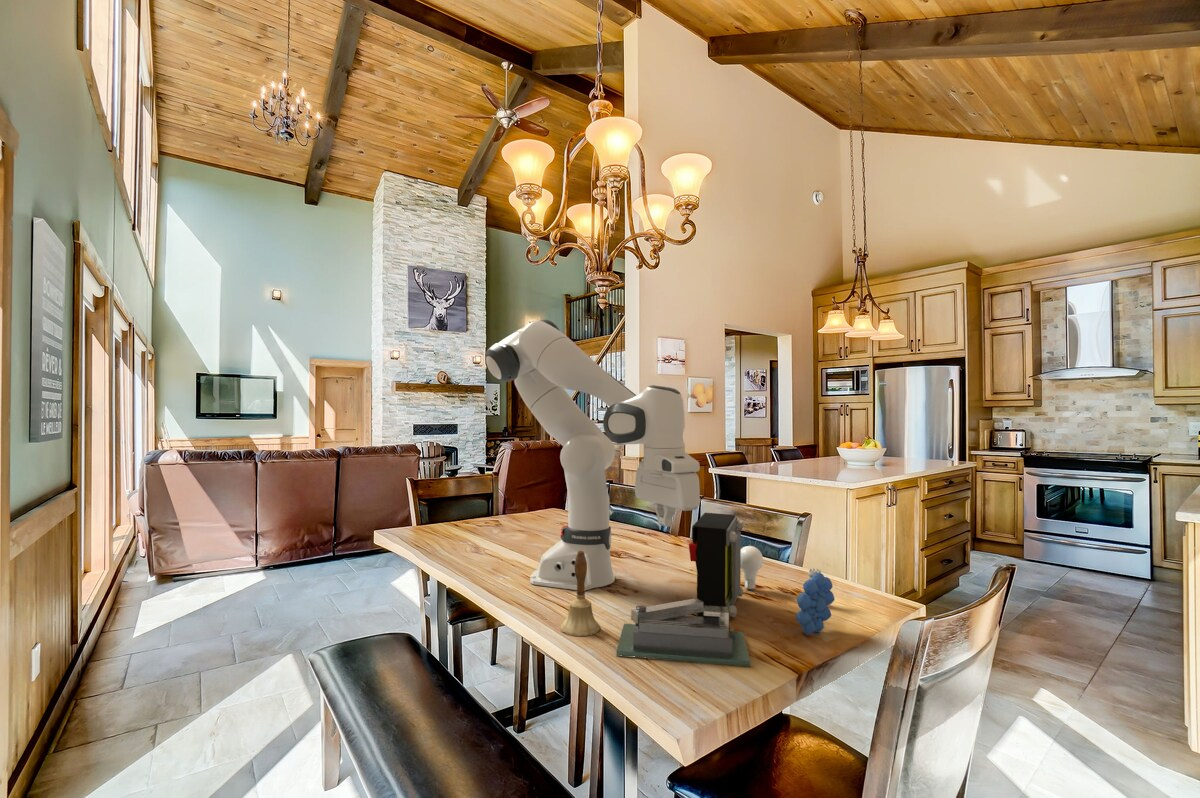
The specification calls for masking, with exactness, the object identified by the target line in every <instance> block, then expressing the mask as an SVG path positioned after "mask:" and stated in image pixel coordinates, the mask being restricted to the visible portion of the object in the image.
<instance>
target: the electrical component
mask: <svg viewBox="0 0 1200 798" xmlns="http://www.w3.org/2000/svg"><path fill="white" fill-rule="evenodd" d="M743 529H744V521H743V520H741V519H740V520H738V516H737V515H735V514H730V513H729V514H726V513H715V512H714V513H713V512H704V513H703V514H702V515H701V516H700V517H699V518H698V520H696V522H695V523H694V524H693V525H692V526H691V539H692V540H691V541H692V543H688V551H689V558H690V561H691V562H695V567H696V599H698V600H700V601H702V602H703V605H705V606H720V607H728V612H729V618H730V617H735V618H736V616H737V613H738V609H737V607H736V605H735V604H736V603H737V599H738V597H741V598H742V597H743V595H744V590H743V589H744V588H743V586H741V575H742V574H741V571H742V569H741V549H742V546H741V545H742V544H741V542H742V541H741V539H742V538H741V537H742V535H741V533H742V532H741V531H743ZM696 617H710V618H719V617H717V616H704V612H700V613H696Z"/></svg>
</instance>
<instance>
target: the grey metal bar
mask: <svg viewBox="0 0 1200 798" xmlns="http://www.w3.org/2000/svg"><path fill="white" fill-rule="evenodd" d="M630 612H631V613H630V620H631V621H633V623H634V624H639V621H640V619H642V620H656V621H658V620H663V619H668V618H674V617H679V616H690V615H693V614H697V613H700V612H703V602H702V601H700V600H698V599H697V597H695V598H689V599H685V600H678V601H671V602H667V603H663V604H662V603H661V604H655V605H649V606H645V605H637V606H635V608H632V609H631V611H630Z"/></svg>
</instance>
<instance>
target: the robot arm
mask: <svg viewBox="0 0 1200 798" xmlns="http://www.w3.org/2000/svg"><path fill="white" fill-rule="evenodd" d="M484 359H485V364H486V366H487V369H488V371H489V372H490V374H491V375H492V376H493V378H495V380H497V381H499V382H502V383H509V382H512V381H514V386H515V387H516V390H517V391H518V394H519V396H520V397H521V399H522V401H523V403H524V404H525V405H526V407H527V408H528V410H529V411H530V413H531V414H532V415H533V416H534V418H535V419H536V420H537V422H538V423H539V424H540V426H541V427H542V428H543V429H544V431H545V432H546V433H547V434H548V435H549V436H551V437H552V438H554V439H555V440H556V441H557V442H558V444H560V445H561V446H562V449H561V450H560V453H559V454H560V455H559V459H560V464H561V466H562V468H563V471H564V478H565V483H566V489H567V490H566V491H567V499H568V501H567V502H568V504H567V508H568V509H567V515H568V518H567V520H568V522H567V523H564V525H562V527H561V529H560V532H559V533H560V534H559V536H560V540H559V541H557V542H556V543H555V544H554V545H553V546H551V547H550V548H548V549H547V550H546V551H545V552H544V553H543V555H541V558H540V561H539V565H538V568H537V569H535V570H534V571H533V572H532V573H531V574H530V576H529V577H530V578H529V582H530V584H532V585H536V586H541V587H542V586H543V587H549V588H557V589H566V590H573V591H577V579H576V575H575V560H576V557H577V553H578V551H584V555H585V558H586V562H587V573H586V577H585V582H584V587H585V591H587V590H591V589H594V588H601V587H605V586H608V585H612V584H613V583H614V582H615V580H616V578H615V574H614V570H613V566H612V559H611V547H612V527H611V526H610V500H611V499H610V494H609V492H608V487H607V479H606V470H607V469H609V467H611V465H612V464H613V461H614V459H615V457H616V447H615V445H614V443H615V444H618V445H624V446H626V445H639V444H643V458H642V459H641V460H640V461H639V463H638V466H637V468H636V472H635V481H634V494H635V497H636V499H640V500H643V501H646V502H650V503H653V504H654V505H653V506H654V508H653V509H654V511H655V514H656V516H657V524H658V525H661V526H663V527H666V528H669V527H672V525H673V517H674V515H675V513H676V510H679V511H682V512H687V511H696V510H697V509H698V507H699V506H700V499H701V498H700V496H701V495H700V494H701V492H700V491H701V489H700V478H699V475H698V474H697V472H700V470H701V468H700V462H699V461H698V460H696V459H695V458H694V457H693V456H691V455H690V454H688V453H687V452H686V446H685V442H684V430H685V424H686V422H685V419H686V418H685V407H684V400H683V396H682V394H681V392H680V391H679V389H676V388H674V387H670V386H669V387H668V386H663V385H662V386H661V385H655V384H654V385H653V384H652V385H649V386H647V387H645V388H644V390H642V391H641V392H639V393H638V394H636V393H634V392H633V391H632V390H631V389H629V388H628V387H626V386H625V385H624V384H623V383H621V382H620V381H619V380H617V379H616V378H615V377H614V376H613V375H611V374H610V373H608V372H607V371H606V370H605V369H603V368H602V366H600V365H599V364H598V363H597V362H596V361H594V360H593V358H591V357H590V356H589V355H588V354H587V353H586V352H585V351H583V349H581V348H580V347H579V346H578V345H577V344H576V343H575V342H574V341H573V340H572V339H570V338H569V337H568V336H567V335H566V334H565V333H564V332H561V330H560V329H559V327H558V326H557V325H556V324H555V323H554V322H552V321H551V320H549V319H541V320H535V321H532V322H529V323H528V324H526V325H524V326H523V327H521V328H519V329H517V330H515V331H514V332H513V333H511V334H510V335H508V336H506V337H504V338H502V339H501V340H500V341H499V342H495V343H494V344H492V345H491V346H490V347H489V348H488V349H487V350H485V356H484ZM567 390H570V391H576V392H581V393H585V394H588V395H590V396H593V397H596V398H597V399H599V400H600V401H602V402H603V403H605V404H606V405H607V406H608V408H607V409H606V411H605V413H604V415H603V416H604V417H603V420H602V421H603V422H602V425H603V430H604V432H603V431H602V429H601V428H599V426H598V425H597V424H595V423H594V421H593V420H592V419H591V418H589V416H588V415H587V414H586V413H585V412H584V411H583V410H582V409H581V408H580V407H579V406H578V405H577V403H576V402H575V401H574V400H573V398H572V397H571V396H570V394H569V393H568V392H567Z"/></svg>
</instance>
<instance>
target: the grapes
mask: <svg viewBox="0 0 1200 798" xmlns="http://www.w3.org/2000/svg"><path fill="white" fill-rule="evenodd" d="M833 587H834V586H833V583H832V581H831V579H830V578H829V577H828V576H825V575H824V574H823V573H816V574H815V575H814V576H813V577H812V578H811V579H809V578H808V579H807V580H805V582H803V584H802V588H803V591H804V592H801V593H799V594H798V596H797V597H796V604H797V606H798V608H799V611H798V612H797V613H796V616H795V617H796V621H797V624H798V625H800V626H801V630H802V632H803V634H805V635H808V636H809V635H811V634H813V633H820V632H822V630H823V629H824V628H825V625H824V622H825V621H826V622H827V621H828V620H829V619H830V618H831V617H832V613H831V609H830V607H829V606H830V605H831V604H833V603H834V601H835V595H834V593H833V592H832V590H831V589H832V588H833Z"/></svg>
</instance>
